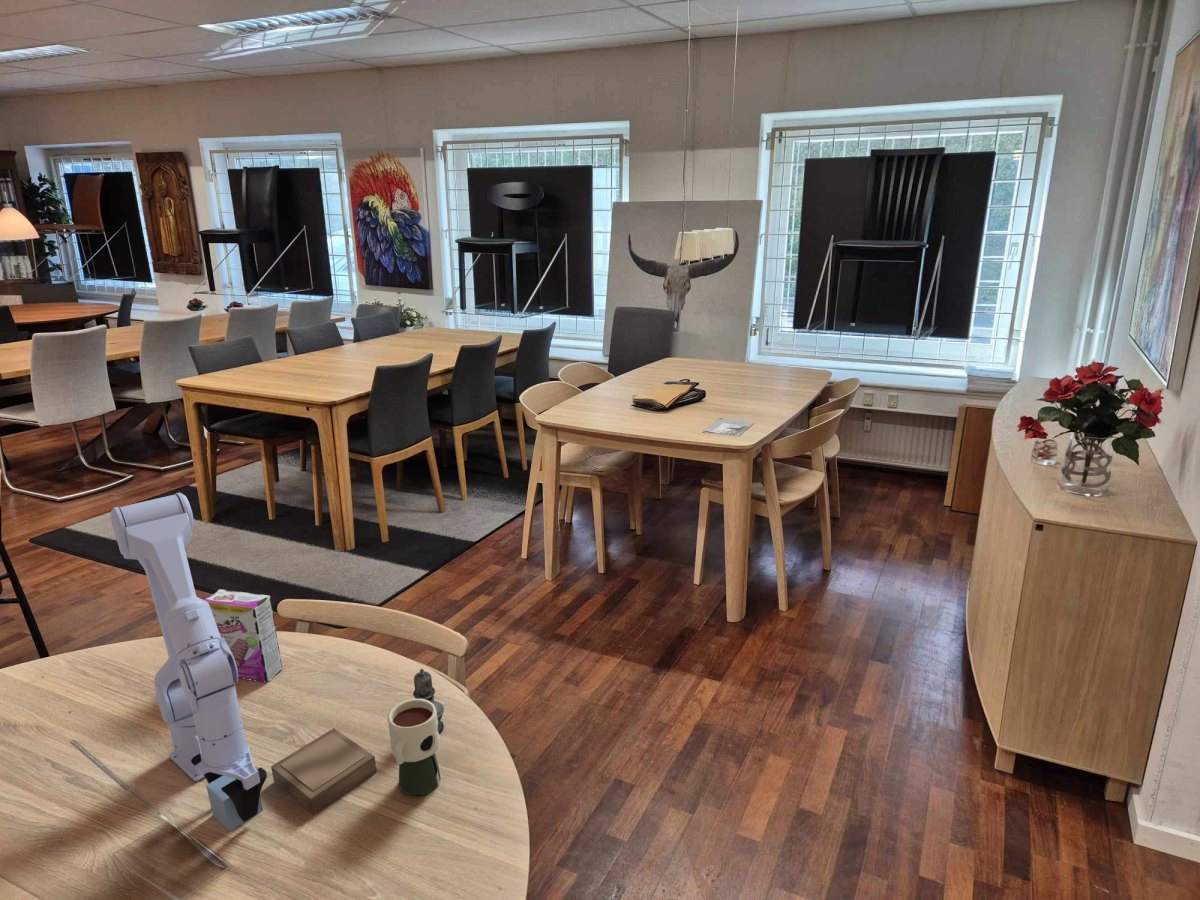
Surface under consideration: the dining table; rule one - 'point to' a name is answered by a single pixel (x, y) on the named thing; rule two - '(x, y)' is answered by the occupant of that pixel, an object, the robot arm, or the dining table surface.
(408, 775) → the character mug
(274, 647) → the candy bar box
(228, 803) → the blue block
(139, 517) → the robot arm
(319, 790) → the walnut plinth
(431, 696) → the salt shaker
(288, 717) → the dining table surface
